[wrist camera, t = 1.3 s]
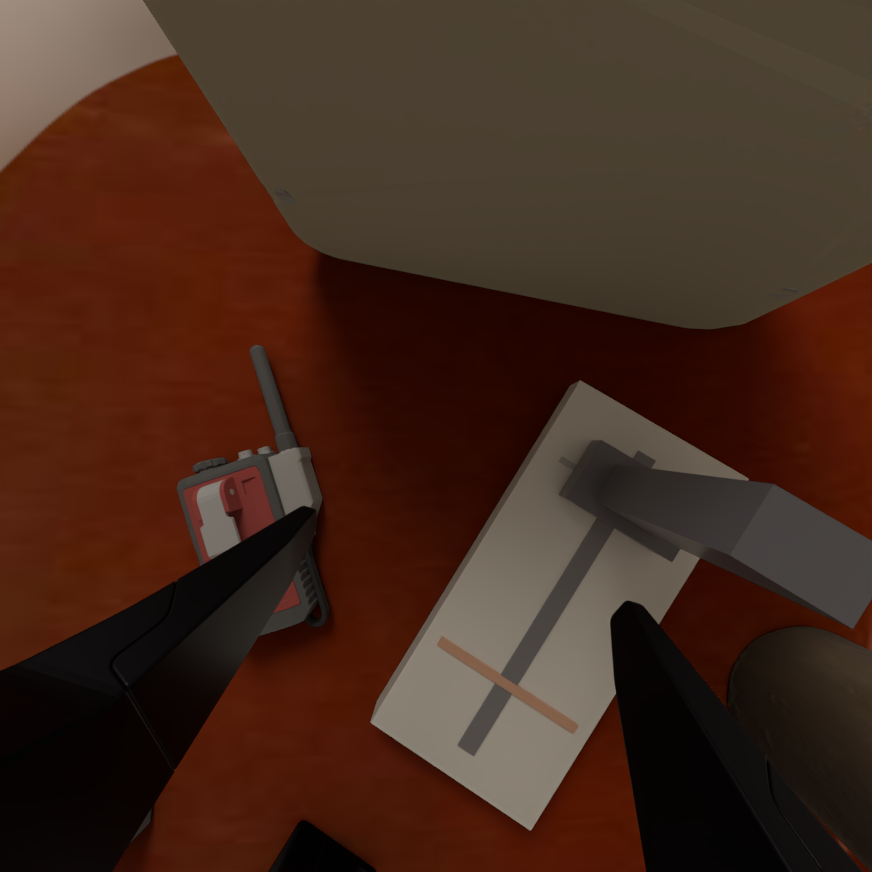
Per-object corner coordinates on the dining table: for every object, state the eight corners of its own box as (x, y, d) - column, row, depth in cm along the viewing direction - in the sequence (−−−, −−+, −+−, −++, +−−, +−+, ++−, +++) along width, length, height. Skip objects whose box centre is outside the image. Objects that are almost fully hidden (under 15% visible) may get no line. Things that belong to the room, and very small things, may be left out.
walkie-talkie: (361, 604, 25) (279, 346, 26) (342, 638, 21) (244, 326, 22) (249, 640, 26) (171, 383, 26) (207, 680, 21) (115, 372, 22)
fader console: (524, 798, 24) (531, 833, 22) (377, 699, 25) (369, 724, 22) (724, 475, 24) (751, 479, 22) (570, 385, 24) (581, 379, 22)
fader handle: (656, 554, 22) (886, 679, 10) (558, 494, 22) (671, 549, 11) (691, 499, 22) (959, 562, 10) (591, 440, 22) (741, 436, 10)
